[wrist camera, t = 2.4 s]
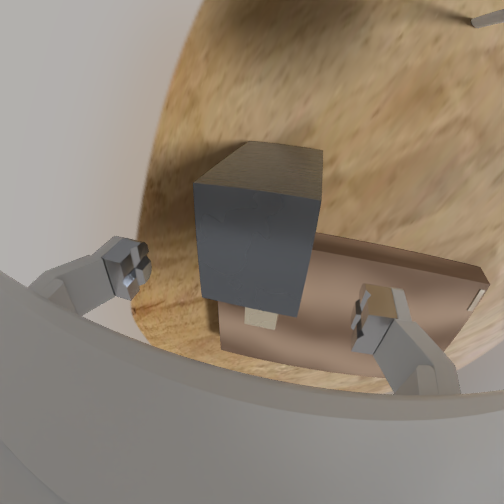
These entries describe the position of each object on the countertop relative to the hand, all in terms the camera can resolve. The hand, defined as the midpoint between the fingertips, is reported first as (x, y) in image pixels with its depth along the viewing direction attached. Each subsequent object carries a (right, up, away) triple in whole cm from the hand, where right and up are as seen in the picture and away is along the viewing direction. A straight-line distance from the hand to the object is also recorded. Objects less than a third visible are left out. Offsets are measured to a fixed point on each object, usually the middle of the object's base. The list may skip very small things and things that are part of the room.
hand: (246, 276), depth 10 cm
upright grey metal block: (+2, +2, +7) cm, 8 cm away
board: (+7, -3, +10) cm, 13 cm away
